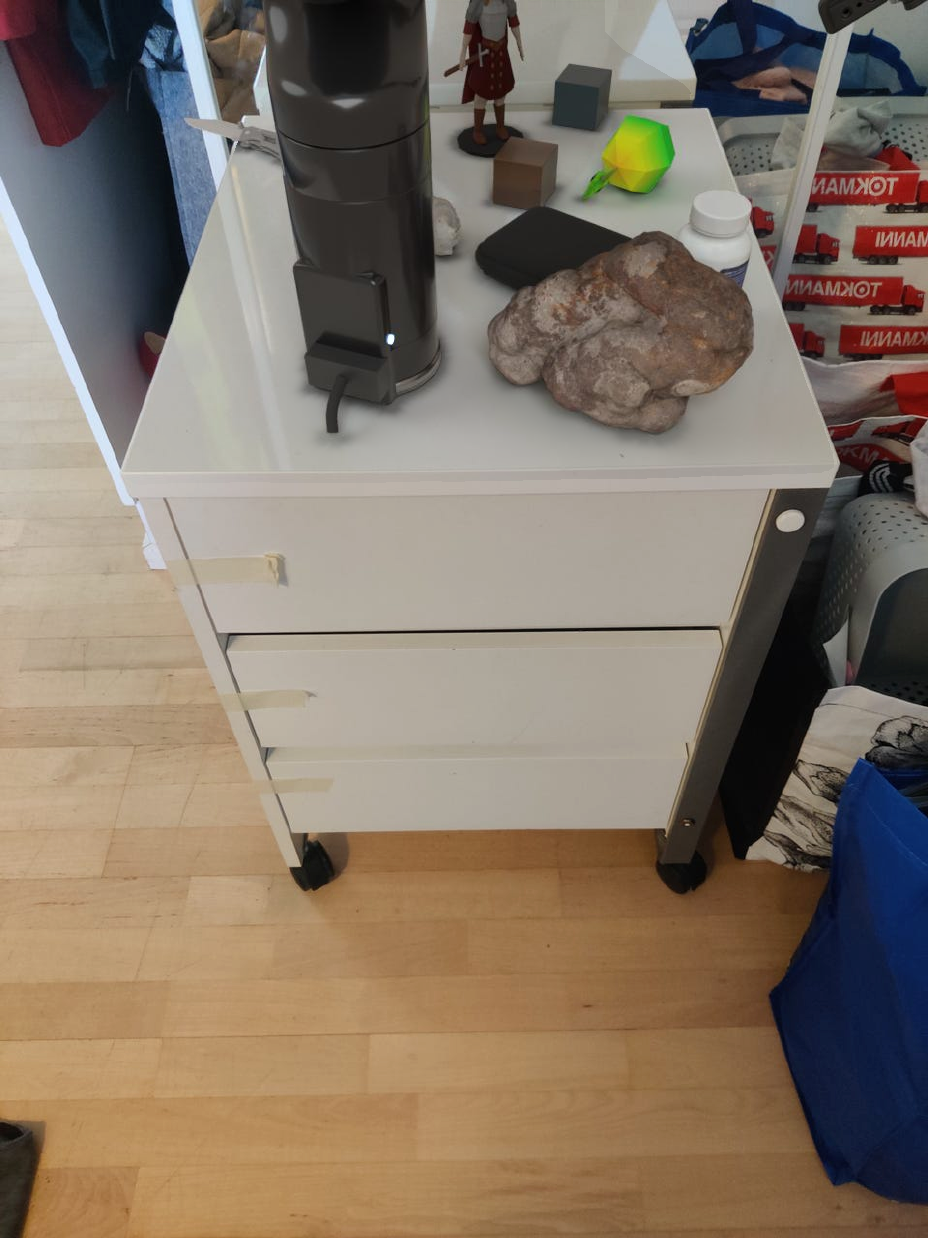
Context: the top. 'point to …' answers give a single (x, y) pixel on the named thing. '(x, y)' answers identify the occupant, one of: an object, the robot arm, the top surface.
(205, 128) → the knife
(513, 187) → the walnut block
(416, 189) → the robot arm
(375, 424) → the top surface
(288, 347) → the top surface
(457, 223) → the seashell
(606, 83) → the slate block
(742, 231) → the pill bottle
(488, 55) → the figurine
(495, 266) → the carrying case
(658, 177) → the apple
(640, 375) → the rock
